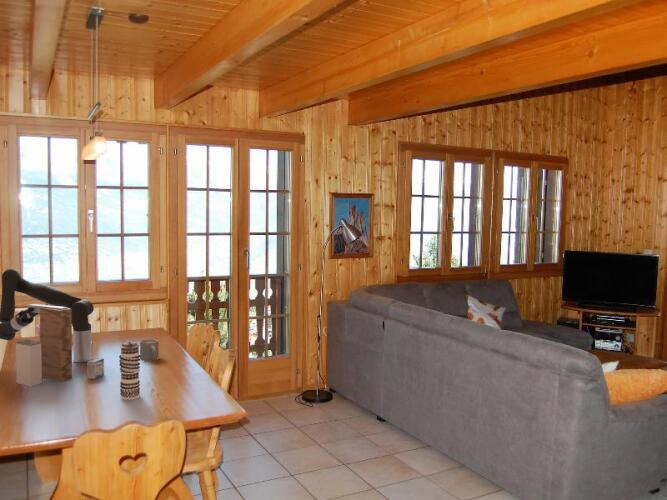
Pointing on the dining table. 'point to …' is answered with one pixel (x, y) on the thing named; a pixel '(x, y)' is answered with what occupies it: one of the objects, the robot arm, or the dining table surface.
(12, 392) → the dining table surface
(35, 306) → the bar
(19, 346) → the block
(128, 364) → the decorative candle
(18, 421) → the dining table surface
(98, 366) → the medicine box
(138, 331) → the dining table surface
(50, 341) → the stand
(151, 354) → the coffee mug
